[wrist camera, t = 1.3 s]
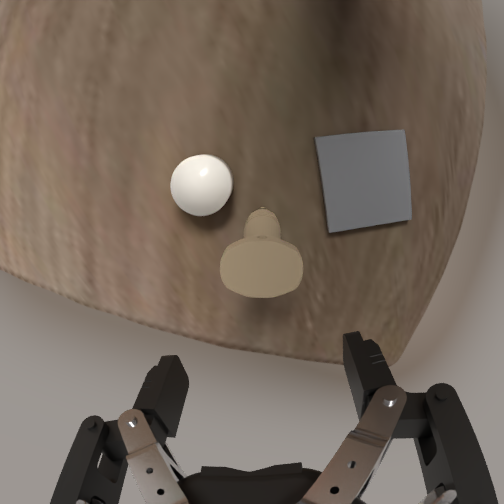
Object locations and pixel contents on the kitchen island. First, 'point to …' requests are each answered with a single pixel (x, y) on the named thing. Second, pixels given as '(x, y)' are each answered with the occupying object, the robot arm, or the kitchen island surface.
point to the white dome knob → (202, 184)
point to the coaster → (364, 178)
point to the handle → (261, 260)
